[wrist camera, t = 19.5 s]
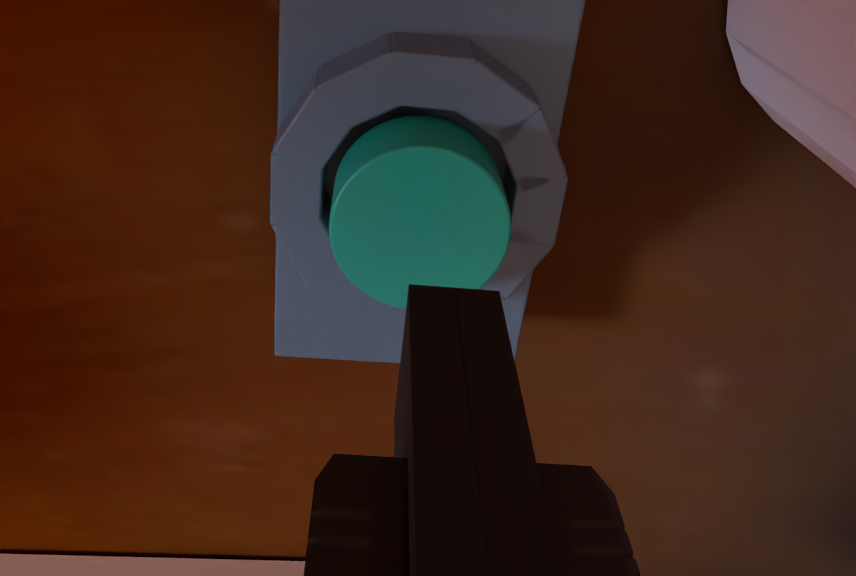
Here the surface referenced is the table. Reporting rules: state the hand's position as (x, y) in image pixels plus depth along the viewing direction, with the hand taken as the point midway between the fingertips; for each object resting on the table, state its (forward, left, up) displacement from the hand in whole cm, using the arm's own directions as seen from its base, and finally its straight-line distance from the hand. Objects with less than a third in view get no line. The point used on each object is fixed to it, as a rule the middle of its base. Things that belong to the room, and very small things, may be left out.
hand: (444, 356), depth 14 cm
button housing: (0, 0, -11) cm, 11 cm away
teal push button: (0, 0, -7) cm, 7 cm away
